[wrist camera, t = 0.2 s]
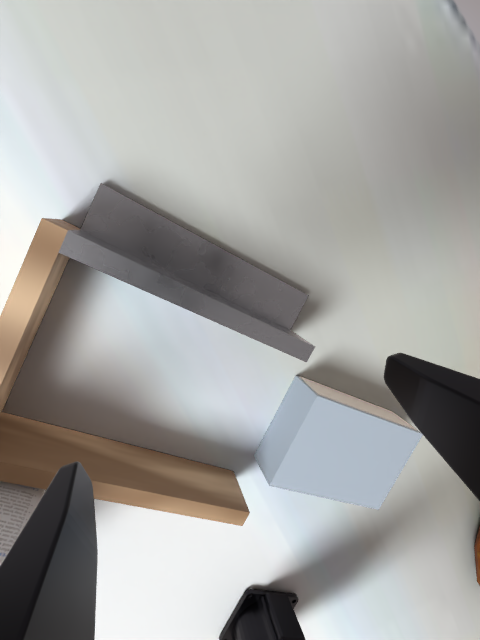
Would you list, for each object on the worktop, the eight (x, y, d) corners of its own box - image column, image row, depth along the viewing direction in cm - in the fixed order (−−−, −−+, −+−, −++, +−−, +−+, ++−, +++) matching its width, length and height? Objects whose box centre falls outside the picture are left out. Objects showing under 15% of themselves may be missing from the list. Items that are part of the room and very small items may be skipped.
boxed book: (352, 478, 34) (378, 509, 30) (252, 452, 29) (269, 485, 26) (391, 410, 33) (423, 433, 29) (294, 372, 28) (317, 395, 25)
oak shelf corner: (227, 482, 29) (242, 525, 25) (-26, 422, 22) (-65, 469, 17) (306, 336, 27) (337, 357, 23) (61, 219, 20) (41, 218, 16)
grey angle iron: (280, 340, 27) (306, 362, 22) (74, 246, 21) (58, 252, 16) (305, 293, 26) (336, 306, 22) (101, 184, 20) (92, 173, 16)
